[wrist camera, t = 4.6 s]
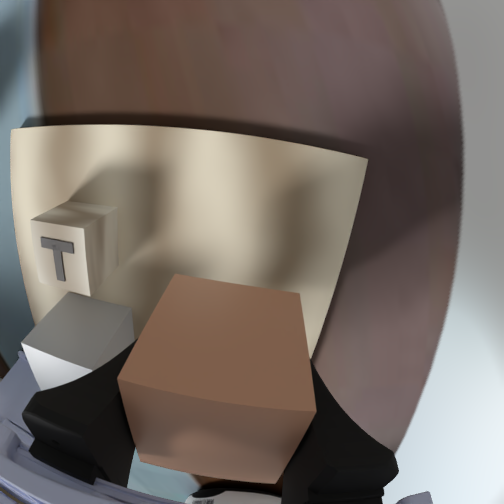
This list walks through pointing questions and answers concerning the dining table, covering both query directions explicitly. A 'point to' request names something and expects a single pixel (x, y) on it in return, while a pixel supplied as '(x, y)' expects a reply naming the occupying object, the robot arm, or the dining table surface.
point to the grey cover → (77, 339)
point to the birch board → (192, 210)
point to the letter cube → (76, 245)
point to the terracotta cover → (220, 381)
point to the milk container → (233, 496)
